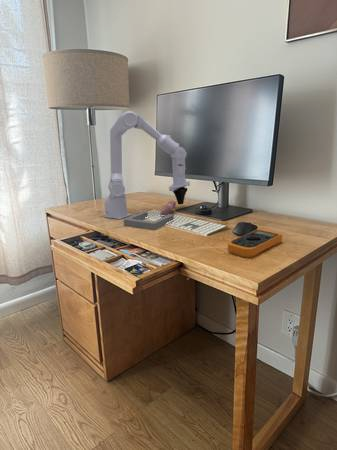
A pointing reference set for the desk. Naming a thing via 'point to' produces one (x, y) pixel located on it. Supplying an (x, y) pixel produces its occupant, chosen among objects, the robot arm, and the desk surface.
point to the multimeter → (254, 242)
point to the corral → (140, 223)
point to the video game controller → (168, 208)
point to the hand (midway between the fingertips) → (180, 204)
